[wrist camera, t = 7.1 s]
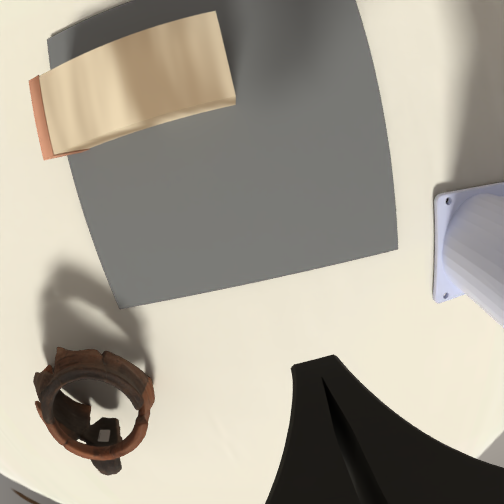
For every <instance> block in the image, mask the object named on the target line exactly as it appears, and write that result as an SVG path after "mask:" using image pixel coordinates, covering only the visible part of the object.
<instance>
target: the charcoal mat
mask: <svg viewBox="0 0 504 504" xmlns="http://www.w3.org/2000/svg"><path fill="white" fill-rule="evenodd" d="M212 11H216V15H217V19H218V23H219V27H220V31H221V35H222V39H223V43H224V48H225V52H226V56H227V60H228V65H229V69H230V73H231V77H232V82H233V86H234V90H235V95H236V105H233V106H228V107H224V108H219V109H215V110H211V111H207V112H203V113H199V114H195V115H191V116H187V117H184V118H180V119H176V120H173V121H169V122H166V123H163V124H159V125H156V126H153V127H149V128H146V129H143V130H140V131H137V132H134V133H131V134H128V135H125V136H122V137H119V138H116V139H113V140H111V141H108V142H105V143H102V144H100V145H97V146H94V147H92V148H90V149H89V150H87V151H84V152H82V153H77V154H71V155H67V156H68V160H69V164H70V168H71V172H72V176H73V179H74V183H75V186H76V190H77V193H78V197H79V200H80V203H81V206H82V210H83V213H84V216H85V219H86V222H87V225H88V228H89V231H90V234H91V237H92V240H93V243H94V246H95V248H96V251H97V254H98V257H99V259H100V262H101V265H102V267H103V270H104V272H105V275H106V277H107V280H108V282H109V285H110V287H111V290H112V292H113V295H114V297H115V299H116V302H117V304H118V306H119V309H123V308H129V307H134V306H140V305H145V304H150V303H155V302H161V301H166V300H171V299H176V298H181V297H186V296H191V295H196V294H201V293H206V292H211V291H216V290H221V289H226V288H231V287H235V286H240V285H245V284H249V283H254V282H259V281H263V280H268V279H273V278H277V277H282V276H286V275H291V274H295V273H300V272H304V271H309V270H313V269H317V268H322V267H326V266H330V265H335V264H339V263H343V262H348V261H352V260H356V259H360V258H364V257H369V256H373V255H377V254H381V253H385V252H389V251H393V250H397V249H398V235H397V218H396V205H395V194H394V183H393V174H392V166H391V158H390V150H389V143H388V137H387V130H386V124H385V118H384V113H383V107H382V102H381V97H380V92H379V87H378V82H377V78H376V73H375V69H374V65H373V60H372V56H371V52H370V48H369V45H368V41H367V37H366V34H365V30H364V27H363V23H362V20H361V16H360V13H359V10H358V7H357V4H356V1H355V0H133V1H130V2H127V3H125V4H122V5H119V6H117V7H114V8H112V9H109V10H107V11H104V12H102V13H100V14H97V15H95V16H93V17H91V18H88V19H86V20H84V21H82V22H80V23H78V24H76V25H74V26H72V27H69V28H68V29H66V30H64V31H62V32H60V33H58V34H56V35H54V36H52V37H50V38H49V39H47V44H48V53H49V61H50V69H51V70H52V69H54V68H56V67H57V66H59V65H61V64H63V63H65V62H67V61H69V60H72V59H74V58H76V57H78V56H80V55H82V54H84V53H87V52H89V51H91V50H93V49H96V48H98V47H100V46H103V45H105V44H108V43H110V42H113V41H115V40H118V39H121V38H123V37H126V36H129V35H131V34H134V33H137V32H140V31H143V30H146V29H149V28H152V27H155V26H158V25H162V24H165V23H168V22H172V21H175V20H179V19H183V18H187V17H190V16H194V15H199V14H203V13H207V12H212Z"/></svg>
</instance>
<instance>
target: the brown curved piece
mask: <svg viewBox="0 0 504 504" xmlns="http://www.w3.org/2000/svg"><path fill="white" fill-rule="evenodd" d="M82 379H94V380H99V381H103V382H106V383H108V384H110V385H113V386H114V387H116V388H118V389H119V390H120V391H122V392H123V393H124V394H125V395H126V396H127V397H128V398H129V399H130V401H131V402H132V404H133V406H134V408H135V409H136V410H139V412H138V417H137V418H136V422H135V425H134V428H133V430H132V432H131V433H130V434H129V435H128V436H127V437H126V438H125V439H124V440H122V437H121V436H120V426H119V420H118V419H116V418H105V417H102V418H101V419H100V420H98V421H97V422H95V423H94V424H93V425H90V413H91V406H89V405H85V404H81V403H78V402H76V401H74V400H72V399H71V398H69V397H68V396H66V395H65V394H64V393H63V392H62V391H61V390H60V389H61V388H62V386H64V385H66V384H68V383H70V382H74V381H77V380H82ZM33 382H34V385H35V388H36V392H37V395H38V398H39V401H40V402H41V403H40V402H39V401H36V402H35V405H36V408H37V411H38V413H39V415H40V417H41V419H42V420H43V422H44V423H45V424H46V426H47V428H48V430H49V432H50V433H51V434H52V436H53V437H54V438H55V440H56V441H57V442H58V443H59V444H61V445H63V446H64V447H65V448H66V449H67V450H68V451H70V452H72V453H74V454H76V455H78V456H81V457H83V458H87V459H91V461H92V463H93V465H94V466H95V467H96V468H97V469H98V470H99V471H100V472H101V473H102V474H105V475H111V474H117V473H118V472H119V471H120V470H121V469H122V466H121V461H120V457H121V456H124V455H126V454H128V453H129V452H131V451H133V450H134V449H135V448H136V447H137V446H138V445H139V444H140V443H141V442H142V440H143V438H144V437H145V435H146V431H147V428H148V420H149V416H150V408H151V407H152V405H153V403H154V400H155V395H154V388H153V384H152V380H151V378H150V377H148V376H147V374H146V373H144V372H143V371H142V370H140V369H139V368H138V367H136V366H135V365H133V364H132V363H130V362H129V361H127V360H125V359H124V358H122V357H120V356H117V355H115V354H113V353H112V352H109V351H104V352H103V353H102V354H100V353H99V352H98V351H97V350H95V349H86V350H79V351H71V350H66V349H64V348H61V347H57V353H56V357H55V369H54V373H53V371H52V366H51V365H48V366H47V367H46V368H45V369H44V370H43V371H42V372H41V373H38V372H36V373H35V376H34V381H33ZM78 439H80V440H82V441H84V442H86V444H83V443H80V442H78V441H77V440H78Z"/></svg>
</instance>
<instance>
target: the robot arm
mask: <svg viewBox="0 0 504 504" xmlns="http://www.w3.org/2000/svg"><path fill="white" fill-rule="evenodd" d="M447 198H448V202H447V203H446V199H447ZM434 211H435V268H434V289H433V300H434V301H435V302H436V303H441V302H444V301H447V300H450V299H453V298H456V297H458V296H461V295H464V294H466V295H467V296H468V297H469V298H471V299H472V300H473V301H474V302H475V303H476V304H477V305H479V306H480V307H481V308H482V309H483V310H484V311H485V312H486V313H488V314H489V315H490V316H491V317H492V318H493V319H494V320H495V321H496V322H497V323H498V324H500V325H501V326H502V327H503V328H504V182H500V183H494V184H489V185H483V186H478V187H472V188H467V189H461V190H456V191H451V192H445V193H440V194H438V195H437V196H436V197H435V199H434ZM445 293H446V294H445ZM444 294H445V295H444ZM291 372H292V378H293V397H292V408H291V416H290V423H289V428H288V433H287V438H286V443H285V447H284V451H283V455H282V459H281V462H280V465H279V468H278V471H277V474H276V477H275V480H274V483H273V485H272V488H271V491H270V493H269V496H268V498H267V500H266V503H265V504H504V468H502V467H499V466H496V465H492V464H489V463H487V462H484V461H481V460H478V459H476V458H473V457H471V456H468V455H466V454H464V453H462V452H460V451H458V450H455V449H453V448H451V447H449V446H447V445H445V444H443V443H441V442H439V441H437V440H436V439H434V438H432V437H430V436H429V435H427V434H425V433H424V432H422V431H421V430H419V429H418V428H416V427H414V426H413V425H411V424H410V423H409V422H407V421H406V420H404V419H403V418H402V417H400V416H399V415H398V414H396V413H395V412H394V411H393V410H391V409H390V408H389V407H387V406H386V405H385V404H384V403H383V402H382V401H380V400H379V399H378V398H377V397H376V396H375V395H374V394H373V393H371V392H370V391H369V390H368V389H367V388H366V387H365V386H364V385H363V384H362V383H361V382H360V381H359V380H358V379H357V378H356V377H355V376H354V375H353V374H352V373H351V372H350V371H349V370H348V369H347V368H346V366H345V365H344V364H343V363H342V362H341V361H340V359H339V358H338V357H337V356H335V355H330V356H326V357H322V358H319V359H315V360H311V361H307V362H303V363H299V364H294V365H293V366H292V367H291Z"/></svg>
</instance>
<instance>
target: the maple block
mask: <svg viewBox="0 0 504 504" xmlns="http://www.w3.org/2000/svg"><path fill="white" fill-rule="evenodd" d="M29 86H30V93H31V99H32V106H33V111H34V117H35V122H36V127H37V132H38V137H39V142H40V146H41V150H42V155H43V159H44V160H47V159H52V158H57V157H62V156H66V155H71V154H77V153H82V152H84V151H87V150H89V149H90V148H92V147H94V146H97V145H100V144H102V143H105V142H108V141H111V140H113V139H116V138H119V137H122V136H125V135H128V134H131V133H134V132H137V131H140V130H143V129H146V128H149V127H153V126H156V125H159V124H163V123H166V122H169V121H173V120H176V119H180V118H184V117H187V116H191V115H195V114H199V113H203V112H207V111H211V110H215V109H219V108H224V107H228V106H233V105H236V95H235V90H234V86H233V82H232V77H231V73H230V69H229V65H228V60H227V56H226V52H225V48H224V43H223V39H222V35H221V31H220V27H219V23H218V19H217V15H216V11H212V12H207V13H203V14H199V15H194V16H190V17H187V18H183V19H179V20H175V21H172V22H168V23H165V24H162V25H158V26H155V27H152V28H149V29H146V30H143V31H140V32H137V33H134V34H131V35H129V36H126V37H123V38H121V39H118V40H115V41H113V42H110V43H108V44H105V45H103V46H100V47H98V48H96V49H93V50H91V51H89V52H87V53H84V54H82V55H80V56H78V57H76V58H74V59H72V60H69V61H67V62H65V63H63V64H61V65H59V66H57V67H56V68H54V69H52V70H50V71H48V72H46V73H44V74H42V75H41V76H39V75H38V76H36V77H35V78H33V79H31V80H29Z"/></svg>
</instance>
